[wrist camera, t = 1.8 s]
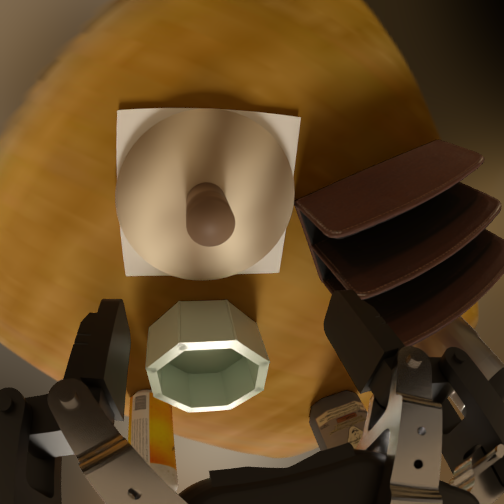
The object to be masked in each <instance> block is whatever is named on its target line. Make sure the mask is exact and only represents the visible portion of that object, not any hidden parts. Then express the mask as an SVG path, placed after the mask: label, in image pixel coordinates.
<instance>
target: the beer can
mask: <svg viewBox="0 0 504 504" xmlns="http://www.w3.org/2000/svg"><path fill="white" fill-rule="evenodd" d="M128 432H129V433H128V442H129V443H130V444H131V445H132V447H133V448H134V449H135V450H136V451H137V453H138V454H139V455H140V456H141V457H142V458H143V459H144V460H145V462H146V463H147V464H148V465H149V466H150V467H151V468H152V469H153V470H154V471H155V472H156V473H157V475H158V476H159V477H160V478H161V479H162V480H163V481H164V482H165V483H166V484H167V485H168V486H169V487H170V488H171V489H172V490H174V491H175V492H176V491H177V488H178V479H177V469H176V459H175V448H174V435H173V420H172V405H170V404H168V403H166V402H164V401H162V400H159V399H157V398H155V397H153V393H152V390H141V391H138V392H136V393H135V395H133V396H132V397H131V399H130V410H129V431H128Z"/></svg>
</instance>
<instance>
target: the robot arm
mask: <svg viewBox="0 0 504 504" xmlns="http://www.w3.org/2000/svg"><path fill="white" fill-rule="evenodd" d="M324 331H325V334H326V336H327V338H328V339H329V341H330V343H331V344H332V346H333V348H334V349H335V351H336V353H337V355H338V356H339V358H340V360H341V361H342V363H343V365H344V367H345V368H346V370H347V372H348V373H349V375H350V377H351V379H352V380H353V382H354V384H355V386H356V387H357V389H358V391H359V393H360V394H361V393H364V392H367V391H372V393H373V395H372V396H371V398H370V402H369V407H368V412H367V417H366V422H365V426H364V431H363V435H362V437H361V440H360V442H359V443H358V445H357V447H356V449H353V448H352V446H351V444H350V442H348V443H345V444H342V445H339V446H336V447H333V448H329V449H326V450H323V451H319V452H317V453H316V454H314V455H312V456H310V457H308V458H306V459H304V460H303V461H301V462H299V463H297V464H295V465H293V466H291V467H288V468H262V467H261V468H260V467H241V468H233V469H224V470H215V471H209V473H210V478H208V479H205V480H202V481H199V482H197V483H195V484H193V485H191V486H189V487H188V488H186V489H185V490H183V491H182V492H181V493H179V494H177V493H176V492H175V491H174V490H172V489H171V488H170V487H169V486H168V485H167V484H166V483H165V482H164V481H163V480H162V479H161V478H160V477H159V476H158V475H157V473H156V472H155V471H154V470H153V469H152V468H151V467H150V466H149V465H148V464H147V463H146V462H145V460H144V459H143V458H142V457H141V456H140V455H139V454H138V453H137V451H136V450H135V449H134V448H133V447H132V445H131V444H130V443H129V442H128V441H127V440H126V439H125V438H124V437H122V435H121V434H120V433H119V431H118V430H117V429H116V428H115V426H114V420H116V421H124V407H125V394H126V382H127V372H128V363H129V355H130V346H131V340H130V331H129V326H128V322H127V317H126V312H125V307H124V303H123V300H122V299H102V300H101V303H100V306H99V309H98V312H97V313H89V314H88V315H87V316H86V317H85V318H84V319H83V321H82V322H81V324H80V327H79V329H78V332H77V335H76V338H75V342H74V343H75V344H74V345H73V348H72V351H71V354H70V358H69V361H68V365H67V368H66V372H65V375H64V378H63V380H60V381H58V382H56V383H55V384H54V385H53V386H52V387H51V389H50V390H49V393H48V394H46V395H41V396H34V397H28V398H24V397H23V395H22V394H21V393H20V392H19V391H18V390H16V389H14V388H3V389H1V390H0V504H62V502H61V461H62V456H65V455H72V454H75V455H76V457H77V459H78V460H79V467H80V469H81V470H82V472H83V474H84V475H85V477H86V478H87V480H88V481H89V483H90V484H91V485H92V487H93V488H94V490H95V491H96V492H97V493H98V495H99V496H100V498H101V499H102V500H103V501H104V503H105V504H493V503H494V502H495V501H496V500H497V499H498V498H499V497H500V496H501V495H502V494H503V493H504V364H503V363H502V362H501V360H500V359H499V358H498V357H497V356H496V355H495V354H494V353H493V352H492V351H491V350H490V348H489V347H488V346H487V345H486V344H485V343H484V342H483V341H482V340H481V339H480V336H479V334H478V333H477V332H476V331H475V330H474V329H473V328H472V327H471V326H470V325H469V324H468V323H467V322H466V321H465V320H464V319H463V318H462V317H461V316H460V317H458V318H457V319H456V320H454V321H453V322H451V323H450V324H449V325H447V326H446V327H444V328H443V329H441V330H440V331H438V332H437V333H435V334H433V335H431V336H430V337H428V338H426V339H424V340H423V341H421V342H419V343H417V344H415V345H413V346H405V345H404V344H403V342H402V341H401V340H400V339H399V337H398V336H397V335H396V334H395V333H394V331H393V330H392V329H391V328H390V326H389V325H388V324H386V322H385V320H384V319H383V318H382V317H380V314H379V313H378V312H377V311H376V309H375V308H374V307H373V306H371V305H370V304H368V303H367V302H365V301H364V300H362V299H361V298H360V297H359V296H358V295H357V294H356V292H355V291H354V290H352V289H350V290H339V291H334V292H333V294H332V296H331V300H330V303H329V306H328V310H327V313H326V316H325V319H324ZM448 396H450V397H451V399H452V400H453V401H454V403H455V404H456V405H457V406H458V408H459V410H460V411H461V412H462V414H463V415H464V417H465V418H464V419H463V420H461V419H460V417H459V416H458V414H457V413H456V411H455V410H454V408H453V407H452V405H451V403H450V402H449V400H448V399H447V398H448ZM441 453H442V454H443V456H444V458H445V460H446V461H447V463H448V465H449V467H450V469H451V471H452V473H453V478H452V479H451V480H450V481H449V484H448V483H445V482H443V481H440V480H439V477H440V467H441Z"/></svg>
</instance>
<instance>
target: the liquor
mask: <svg viewBox="0 0 504 504" xmlns="http://www.w3.org/2000/svg"><path fill="white" fill-rule="evenodd" d="M366 417H367V411H366V409H365V407H364V406H363V404H362V402H361V400H360V398H359V397H358V395H357V394H355V393H353V392H350V391H347V390H346V391H343V392H340V393H337V394H334V395H331V396H328V397H325V398H322V399H321V400H319V401H318V402H317V403H315V404H314V405H313V406H312V407H311V414H310V421H309V423H310V426H311V428H312V431H313V433H314V436H315V438H316V440H317V443H318V445H319V448H320V450H321V451H323V450H326V449H329V448H333V447H336V446H339V445H342V444H345V443H348V442H350V444H351V446H352V448H353V449H356V447H357V445H358V443H359V442H360V440H361V437H362V435H363V431H364V426H365V422H366Z"/></svg>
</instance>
